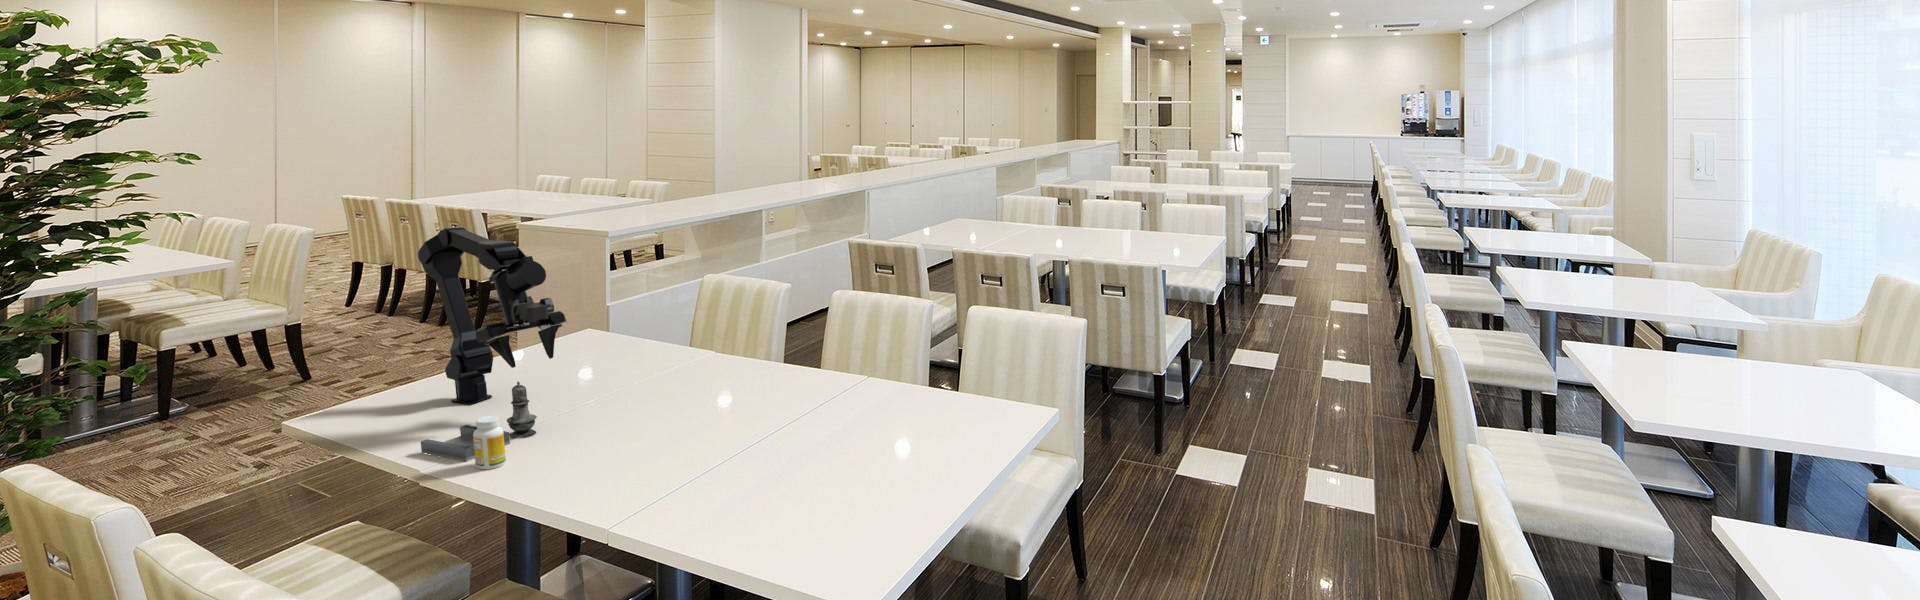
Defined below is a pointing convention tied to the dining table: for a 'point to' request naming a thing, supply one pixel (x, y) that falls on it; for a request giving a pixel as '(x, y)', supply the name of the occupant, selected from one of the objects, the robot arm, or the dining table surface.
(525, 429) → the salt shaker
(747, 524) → the dining table surface
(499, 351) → the robot arm
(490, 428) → the supplement bottle
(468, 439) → the floor track
